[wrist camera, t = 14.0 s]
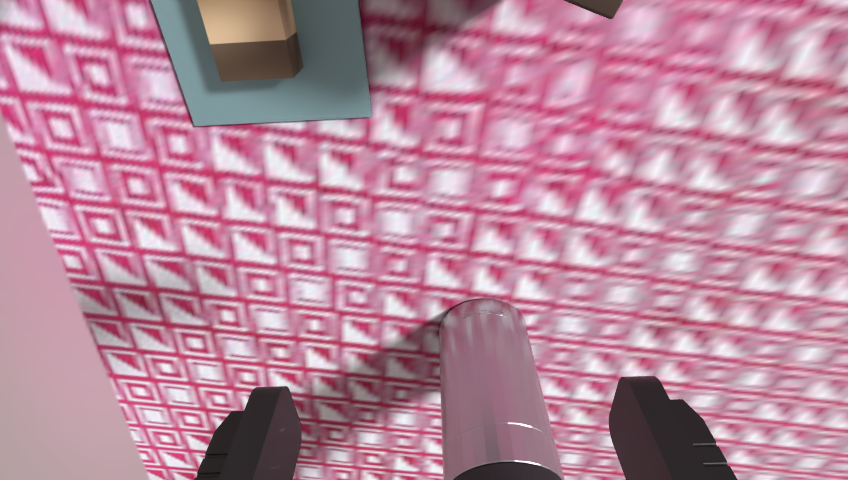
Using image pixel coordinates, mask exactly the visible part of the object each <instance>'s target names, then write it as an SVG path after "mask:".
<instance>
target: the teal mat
mask: <svg viewBox="0 0 848 480" xmlns="http://www.w3.org/2000/svg"><path fill="white" fill-rule="evenodd" d="M151 1H152V4H153V7H154V10H155V13H156V16H157V19H158V22H159V25H160V27H161V30H162V33H163V36H164V39H165V42H166V45H167V48H168V51H169V53H170V56H171V59H172V62H173V65H174V68H175V71H176V74H177V77H178V79H179V82H180V85H181V88H182V91H183V94H184V97H185V100H186V103H187V106H188V108H189V111H190V114H191V117H192V120H193V123H194V126H207V125H227V124H246V123H265V122H285V121H304V120H323V119H343V118H362V117H372V109H371V101H370V93H369V84H368V76H367V68H366V59H365V51H364V43H363V34H362V26H361V18H360V9H359V1H358V0H291V4H292V10H293V15H294V20H295V25H296V30H297V35H298V41H299V46H300V51H301V56H302V61H303V66H304V67H303V68H302V69H301V71H300V72H299V73H298V74H297V75H296V76H295V77H294V78H283V79H265V80H247V81H229V82H221V80H220V77H219V73H218V70H217V66H216V63H215V60H214V56H213V53H212V49H211V46H210V43H209V39H208V36H207V33H206V29H205V26H204V22H203V19H202V16H201V12H200V9H199V5H198V2H197V0H151Z"/></svg>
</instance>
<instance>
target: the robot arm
mask: <svg viewBox="0 0 848 480" xmlns="http://www.w3.org/2000/svg"><path fill="white" fill-rule="evenodd" d="M439 343H440V383H441V416H442V448H443V474H444V480H564V476H563V472H562V468H561V464H560V460H559V456H558V452H557V449H556V445H555V441H554V437H553V433H552V429H551V425H550V421H549V417H548V413H547V409H546V405H545V401H544V397H543V393H542V389H541V385H540V381H539V377H538V373H537V369H536V365H535V361H534V357H533V354H532V349H531V345H530V341H529V337H528V333H527V329H526V325H525V321H524V319H523V317H522V315H521V314H520V313H519V312H518V311H517V309H515V308H514V307H512V306H511V305H509V304H507V303H505V302H502V301H498V300H493V299H478V300H472V301H468V302H465V303H462V304H460V305H458V306H456V307H455V308H453V309H452V310H451V311H449V312H448V313H447V315H446V316H445V317H444V318H443V320H442V322H441V324H440V328H439ZM609 429H610V435H611V439H612V442H613V445H614V448H615V450H616V453H617V456H618V459H619V461H620V464H621V467H622V470H623V472H624V475H625V478H626V480H737V478H736V476H735V475H734V473H733V471H732V469H731V468H730V466H728V465H727V460H726V459H725V457H724V455H723V453H722V452H721V450H720V448H719V447H717V446H716V441H715V439H714V438H713V436H712V434H711V432H710V431H709V429H708V427H707V425H706V424H705V422H704V420H703V419H702V418H701V417H700V416H699V415H698V414H697V413H696V412H695V411H694V410H693V409H692V408H691V407H690V406H689V405H688V404H687V403H686V402H685V401H684V400H683V399H679V400H670V399H669V397H668V395H667V393H666V391H665V390H664V388H663V386H662V384H661V382H660V381H659V379H658V378H656V377H655V376H638V377H621V378H620V380H619V382H618V386H617V389H616V393H615V396H614V400H613V403H612V407H611V411H610V414H609ZM300 445H301V423H300V420H299V417H298V414H297V411H296V408H295V405H294V402H293V399H292V396H291V393H290V391H289V388H288V387H286V386H281V387H256V388H255V389H254V390H253V391H252V393H251V395H250V397H249V400H248V402H247V405H246V408H245V410H244V411H232V412H231V413H230V414H229V415H228V416H227V418H226V419H225V420H224V421H223V422H222V424H221V425H220V426H219V427H218V428H217V429H216V431H215V432H214V435H213V437H212V439H211V442H210V444H209V446H208V449H207V451H206V453H205V455H206V456H205V459H203V461H202V463H201V465H200V468H199V470H198V472H197V473H198V475H197V478H195V479H194V480H292V479H293V475H294V470H295V466H296V462H297V458H298V454H299V450H300Z"/></svg>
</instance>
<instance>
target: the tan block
mask: <svg viewBox="0 0 848 480" xmlns="http://www.w3.org/2000/svg"><path fill="white" fill-rule="evenodd" d="M197 2H198V5H199V9H200V12H201V16H202V19H203V22H204V26H205V29H206V33H207V36H208V39H209V43H210V46H211V49H212V53H213V56H214V60H215V63H216V66H217V70H218V73H219V77H220V80H221V82H229V81H247V80H265V79H283V78H294V77H295V76H296V75H297V74H298V73H299V72H300V71H301V69H302V68H303V67H304V66H303V61H302V56H301V51H300V46H299V41H298V35H297V30H296V25H295V20H294V15H293V10H292V4H291V0H197Z"/></svg>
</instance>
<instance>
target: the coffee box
mask: <svg viewBox="0 0 848 480" xmlns="http://www.w3.org/2000/svg"><path fill="white" fill-rule="evenodd" d="M564 1H567V2H569V3H572V4H574V5H577V6H579V7H581V8H584V9H586V10H589V11H591V12H593V13H596V14H599V15H601V16H604V17H606V18H609V19H612V18H614V16H615V14H616V12H617V11H618V9H619V7H620V5H621V3H622V1H623V0H564Z"/></svg>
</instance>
